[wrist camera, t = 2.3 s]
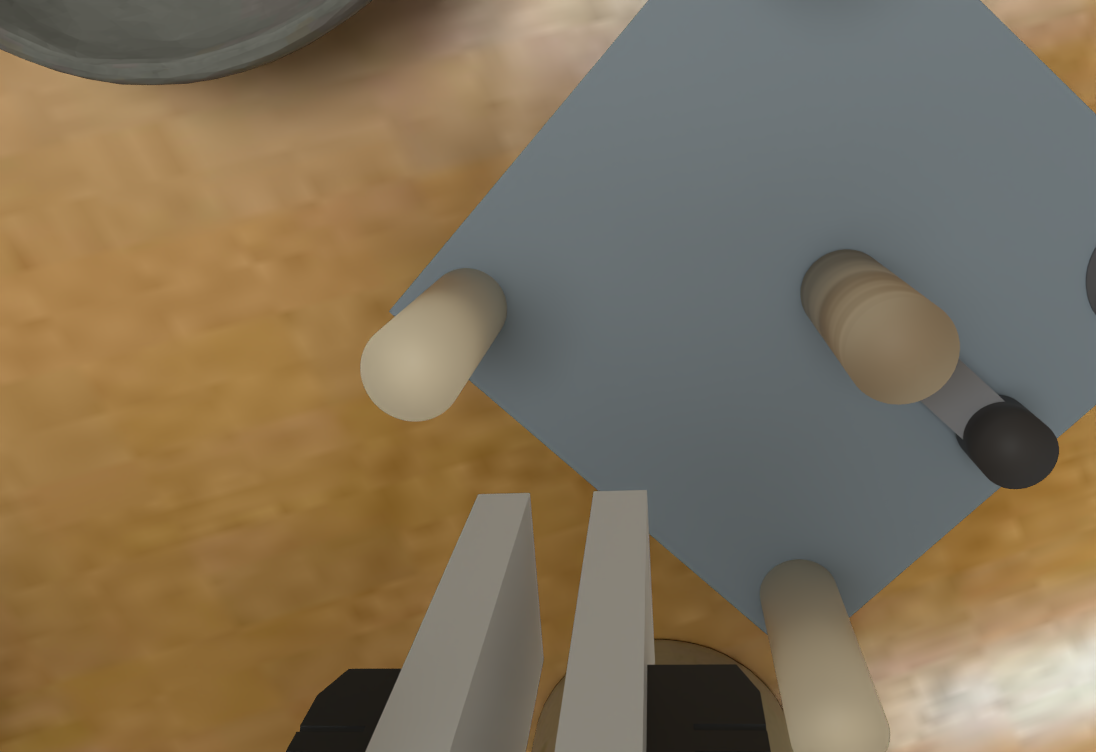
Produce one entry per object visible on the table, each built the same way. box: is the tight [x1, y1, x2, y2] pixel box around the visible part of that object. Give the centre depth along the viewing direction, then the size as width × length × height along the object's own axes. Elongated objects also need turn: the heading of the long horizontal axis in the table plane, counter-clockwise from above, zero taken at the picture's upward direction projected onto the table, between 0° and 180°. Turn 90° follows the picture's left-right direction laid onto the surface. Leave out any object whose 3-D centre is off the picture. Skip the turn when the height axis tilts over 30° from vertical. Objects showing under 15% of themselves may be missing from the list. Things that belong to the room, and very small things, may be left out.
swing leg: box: [800, 249, 1059, 489], centre depth 28 cm, size 10×3×8 cm, turn 49°
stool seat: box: [360, 0, 1096, 752], centre depth 30 cm, size 20×20×11 cm
